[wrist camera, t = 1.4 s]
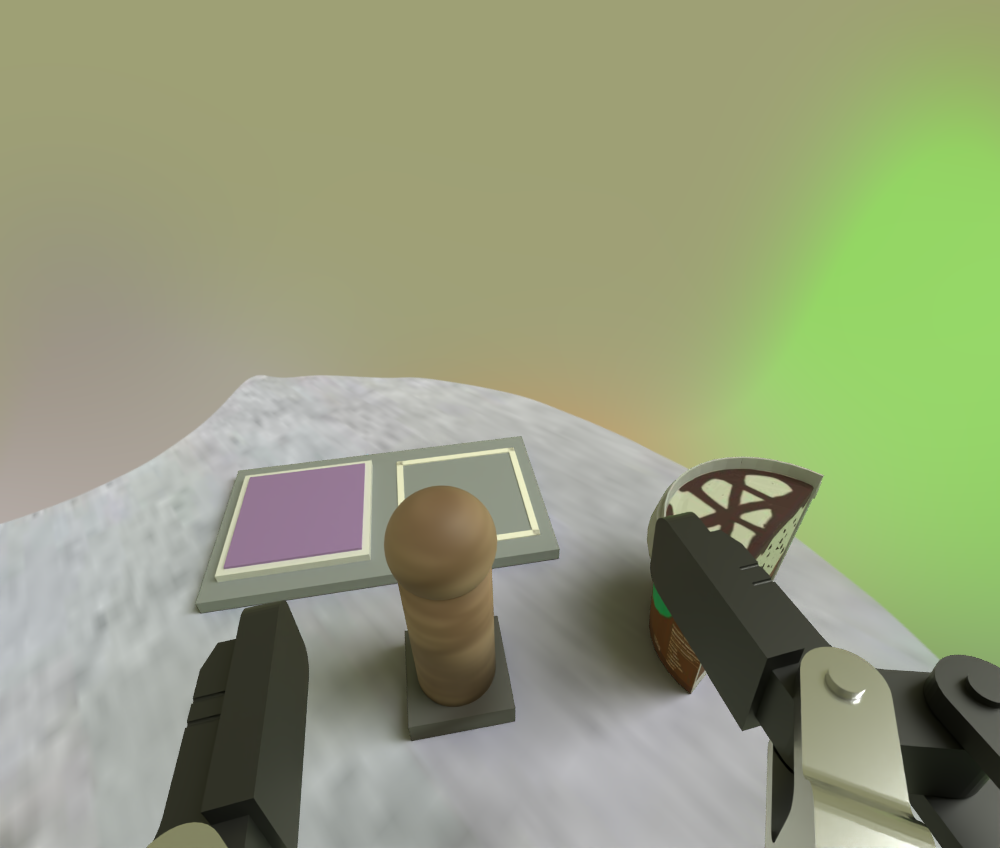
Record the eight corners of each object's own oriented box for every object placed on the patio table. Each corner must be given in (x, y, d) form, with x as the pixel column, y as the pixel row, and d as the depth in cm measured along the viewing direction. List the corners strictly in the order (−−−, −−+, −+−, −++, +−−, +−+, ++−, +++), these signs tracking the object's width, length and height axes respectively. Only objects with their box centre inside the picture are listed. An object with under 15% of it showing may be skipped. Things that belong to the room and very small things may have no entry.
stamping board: (200, 613, 35) (191, 596, 34) (242, 479, 45) (235, 463, 44) (558, 558, 38) (560, 541, 37) (521, 445, 48) (521, 429, 47)
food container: (693, 532, 40) (725, 424, 34) (776, 582, 36) (827, 470, 30) (588, 639, 33) (604, 527, 27) (676, 713, 30) (717, 603, 24)
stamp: (411, 740, 29) (366, 565, 20) (407, 644, 33) (369, 466, 24) (515, 721, 29) (515, 543, 21) (497, 629, 34) (491, 451, 25)
